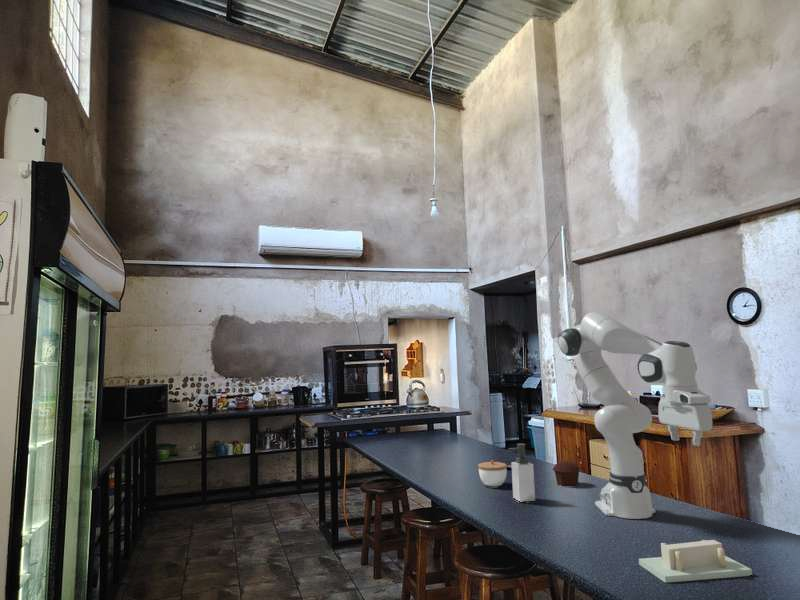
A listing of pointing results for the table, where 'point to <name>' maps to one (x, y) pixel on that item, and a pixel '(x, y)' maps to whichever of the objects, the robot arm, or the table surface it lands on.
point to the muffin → (566, 473)
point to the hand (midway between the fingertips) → (685, 442)
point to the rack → (695, 568)
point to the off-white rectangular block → (691, 553)
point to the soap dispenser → (522, 476)
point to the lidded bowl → (492, 473)
